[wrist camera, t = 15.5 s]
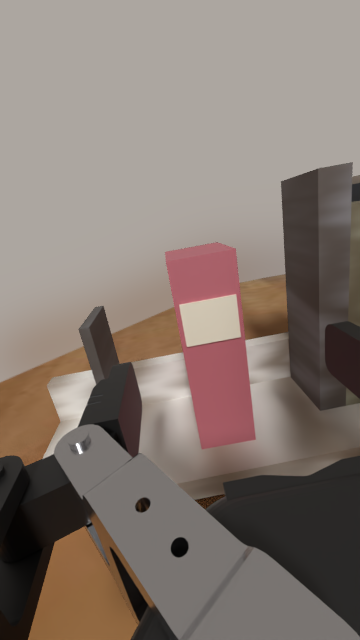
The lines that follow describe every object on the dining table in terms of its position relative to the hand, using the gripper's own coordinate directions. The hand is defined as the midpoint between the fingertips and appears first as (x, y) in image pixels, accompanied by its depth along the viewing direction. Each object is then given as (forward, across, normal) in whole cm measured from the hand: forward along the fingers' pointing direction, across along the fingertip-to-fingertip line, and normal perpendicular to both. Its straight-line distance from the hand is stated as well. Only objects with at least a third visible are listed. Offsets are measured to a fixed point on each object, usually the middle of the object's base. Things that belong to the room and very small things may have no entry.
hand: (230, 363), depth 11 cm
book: (+6, 0, +8) cm, 10 cm away
